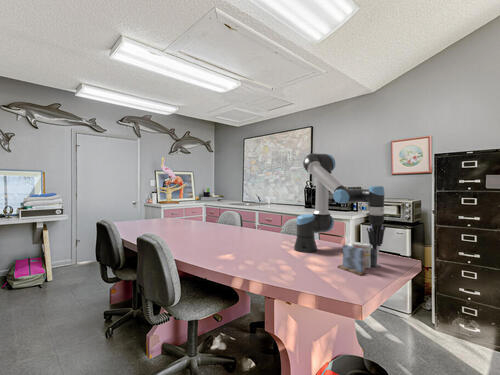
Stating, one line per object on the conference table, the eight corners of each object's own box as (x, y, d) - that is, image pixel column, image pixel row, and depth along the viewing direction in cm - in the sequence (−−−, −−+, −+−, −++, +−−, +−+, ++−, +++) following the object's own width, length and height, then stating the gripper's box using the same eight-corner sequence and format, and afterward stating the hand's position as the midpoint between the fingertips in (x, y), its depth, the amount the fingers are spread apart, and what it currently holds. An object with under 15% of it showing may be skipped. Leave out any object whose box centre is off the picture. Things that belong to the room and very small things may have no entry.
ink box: (371, 266, 136) (371, 243, 136) (369, 268, 131) (370, 245, 132) (353, 263, 140) (353, 241, 140) (351, 266, 136) (352, 243, 136)
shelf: (337, 267, 137) (337, 244, 137) (371, 260, 150) (371, 239, 150) (360, 275, 125) (360, 250, 125) (394, 266, 138) (394, 244, 138)
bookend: (358, 262, 142) (358, 245, 142) (364, 261, 144) (364, 245, 144) (375, 267, 134) (375, 249, 133) (380, 266, 136) (380, 248, 135)
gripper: (374, 216, 135) (374, 261, 136) (390, 214, 141) (389, 257, 142) (362, 214, 142) (361, 257, 142) (377, 213, 148) (377, 254, 149)
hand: (375, 257), depth 142 cm, fingers closed
